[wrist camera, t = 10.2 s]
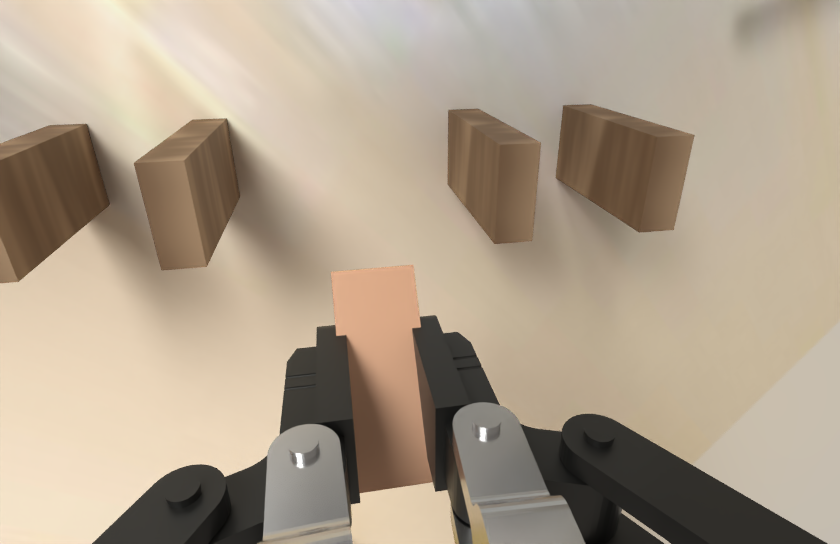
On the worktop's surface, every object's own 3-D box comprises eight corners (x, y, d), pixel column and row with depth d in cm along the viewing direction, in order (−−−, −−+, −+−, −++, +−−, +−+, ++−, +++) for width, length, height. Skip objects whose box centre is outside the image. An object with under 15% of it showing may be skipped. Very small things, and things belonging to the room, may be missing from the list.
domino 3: (387, 333, 23) (413, 265, 13) (399, 449, 22) (440, 480, 11) (342, 337, 23) (330, 272, 12) (352, 455, 22) (349, 494, 11)
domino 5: (590, 104, 35) (694, 135, 25) (581, 176, 37) (673, 229, 27) (563, 105, 35) (657, 137, 25) (555, 177, 37) (639, 232, 27)
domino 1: (86, 123, 30) (-26, 171, 21) (109, 204, 33) (18, 281, 23) (49, 125, 30) (-82, 173, 20) (75, 206, 32) (-32, 285, 22)
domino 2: (226, 118, 32) (183, 160, 22) (239, 196, 34) (206, 266, 24) (192, 119, 31) (133, 162, 21) (208, 198, 33) (161, 270, 24)
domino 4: (477, 108, 34) (541, 142, 24) (475, 182, 36) (531, 240, 26) (448, 109, 34) (500, 145, 24) (447, 184, 36) (494, 243, 26)
